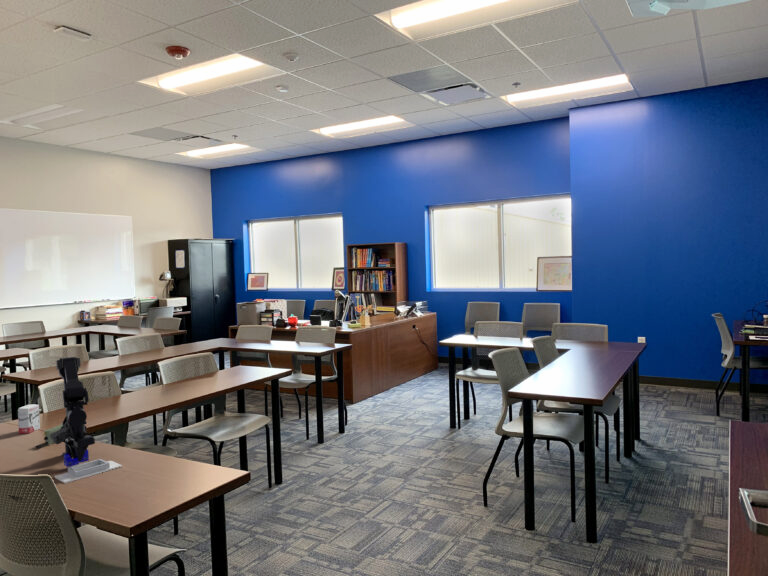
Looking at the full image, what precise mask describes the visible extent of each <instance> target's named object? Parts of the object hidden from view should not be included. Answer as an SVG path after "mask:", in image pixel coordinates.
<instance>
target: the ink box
mask: <svg viewBox="0 0 768 576" xmlns="http://www.w3.org/2000/svg"><path fill="white" fill-rule="evenodd" d="M17 417H18V418H17V419H18V420H17V421H18V423H17V424H18V434H20V435H21V434H23V435H24V434H30V433H34V432H35V431H38V430H40V429H41V425H40V405H39V404H32V403H31V404H26V405H24V406H21V407H18V409H17Z"/></svg>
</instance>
